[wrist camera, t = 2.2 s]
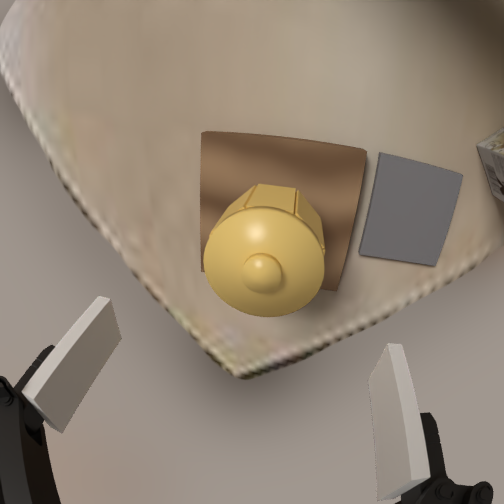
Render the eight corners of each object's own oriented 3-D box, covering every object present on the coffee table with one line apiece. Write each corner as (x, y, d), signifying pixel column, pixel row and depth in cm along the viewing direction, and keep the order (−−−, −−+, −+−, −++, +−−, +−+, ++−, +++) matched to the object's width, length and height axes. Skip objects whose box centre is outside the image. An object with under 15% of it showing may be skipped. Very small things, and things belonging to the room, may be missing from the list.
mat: (379, 152, 23) (380, 153, 22) (460, 173, 22) (463, 175, 21) (358, 251, 28) (359, 254, 27) (433, 263, 27) (435, 265, 26)
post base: (206, 131, 25) (159, 146, 16) (363, 149, 23) (395, 173, 15) (205, 264, 31) (172, 322, 23) (335, 282, 30) (343, 348, 22)
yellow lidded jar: (227, 179, 22) (198, 209, 16) (327, 191, 21) (336, 227, 15) (224, 264, 26) (201, 314, 20) (311, 276, 25) (311, 331, 19)
